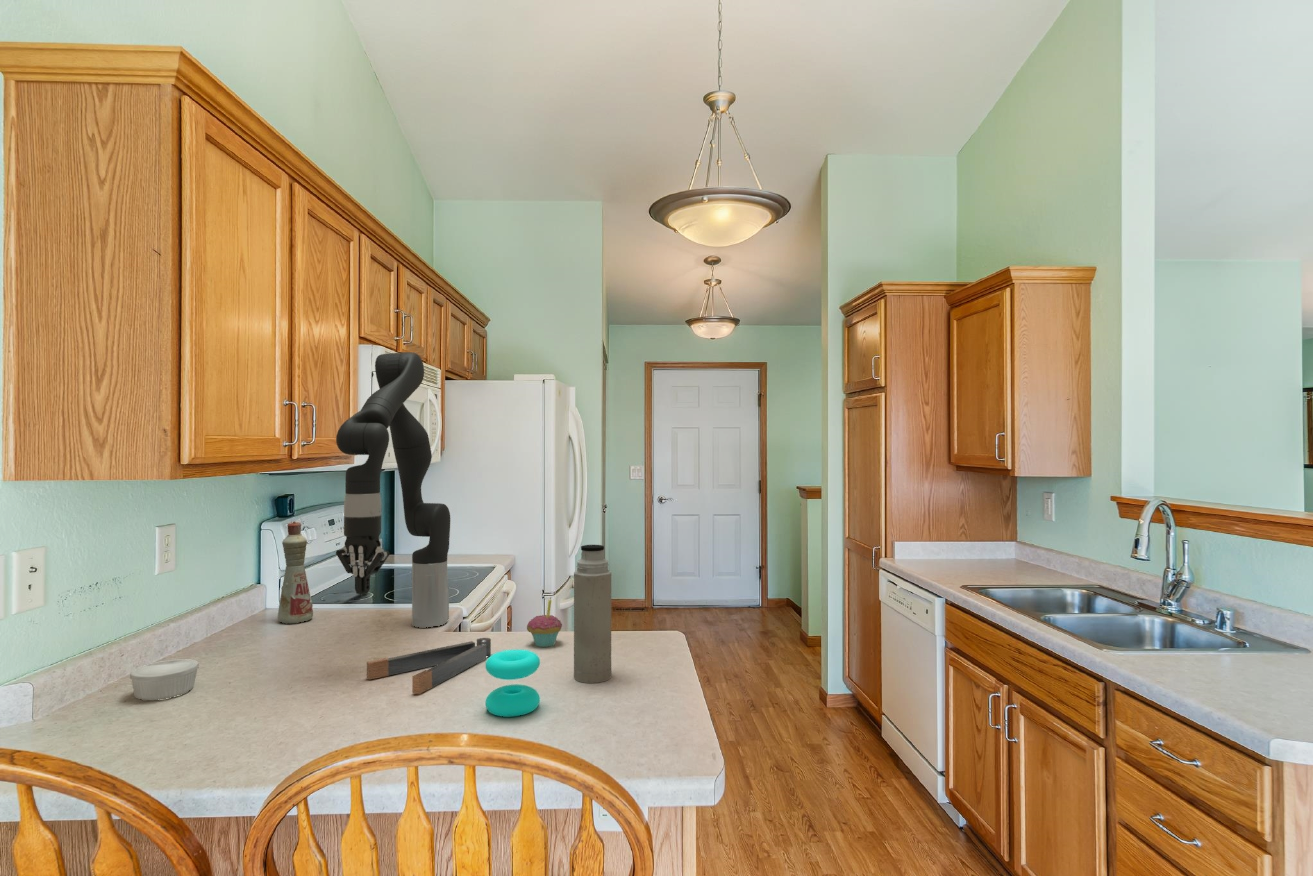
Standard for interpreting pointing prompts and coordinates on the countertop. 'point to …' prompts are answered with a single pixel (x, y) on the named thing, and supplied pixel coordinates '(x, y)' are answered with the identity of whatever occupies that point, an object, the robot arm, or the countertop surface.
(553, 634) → the cupcake
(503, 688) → the donuts
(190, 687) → the ramekin
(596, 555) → the thermos bottle
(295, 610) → the bottle
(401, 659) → the tongs arm
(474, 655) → the base
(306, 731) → the countertop surface
